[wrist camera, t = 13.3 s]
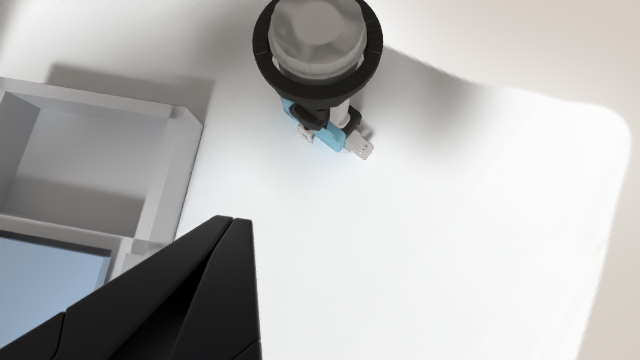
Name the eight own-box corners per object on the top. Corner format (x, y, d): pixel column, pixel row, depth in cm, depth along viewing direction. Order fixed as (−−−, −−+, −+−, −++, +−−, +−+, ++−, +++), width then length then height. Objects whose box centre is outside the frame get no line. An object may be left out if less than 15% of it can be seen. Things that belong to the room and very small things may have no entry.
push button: (390, 129, 22) (444, 33, 12) (341, 190, 21) (358, 137, 12) (313, 72, 23) (308, -59, 13) (263, 129, 22) (217, 32, 12)
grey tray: (121, 437, 18) (83, 472, 15) (-75, 397, 19) (-148, 424, 16) (203, 126, 22) (186, 107, 19) (39, 99, 23) (-2, 76, 20)
